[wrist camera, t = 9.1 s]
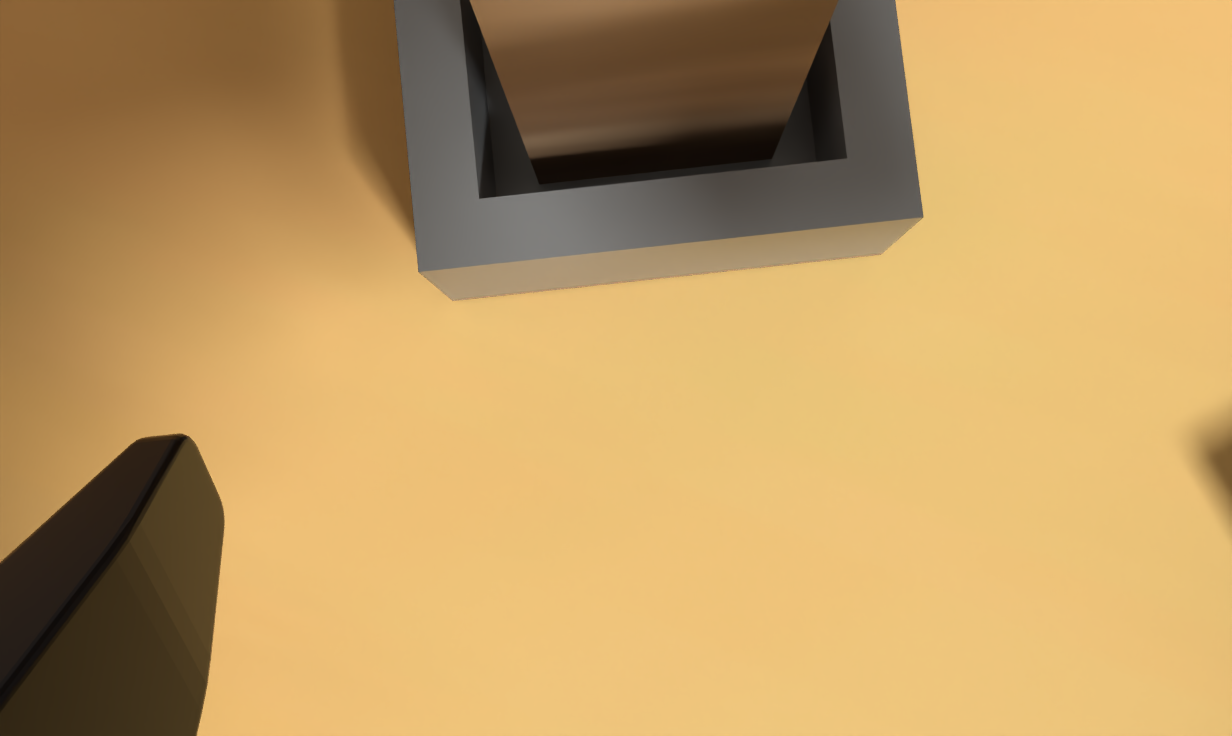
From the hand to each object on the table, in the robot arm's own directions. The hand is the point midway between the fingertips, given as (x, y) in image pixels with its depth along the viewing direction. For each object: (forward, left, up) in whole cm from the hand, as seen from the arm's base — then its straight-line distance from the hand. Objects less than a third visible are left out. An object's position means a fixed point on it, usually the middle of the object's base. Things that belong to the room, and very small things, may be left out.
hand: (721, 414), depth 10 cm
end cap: (+2, +6, -10) cm, 12 cm away
